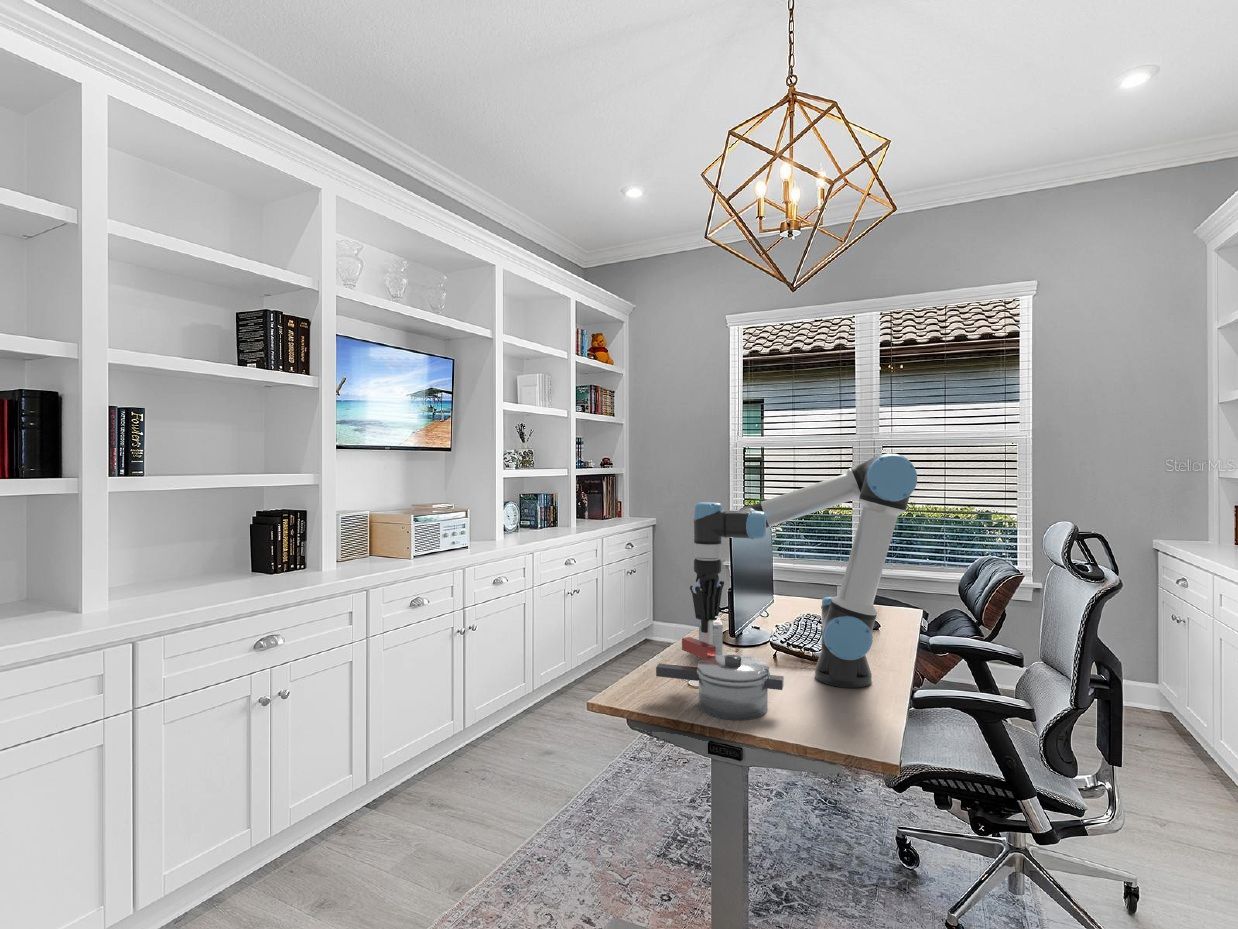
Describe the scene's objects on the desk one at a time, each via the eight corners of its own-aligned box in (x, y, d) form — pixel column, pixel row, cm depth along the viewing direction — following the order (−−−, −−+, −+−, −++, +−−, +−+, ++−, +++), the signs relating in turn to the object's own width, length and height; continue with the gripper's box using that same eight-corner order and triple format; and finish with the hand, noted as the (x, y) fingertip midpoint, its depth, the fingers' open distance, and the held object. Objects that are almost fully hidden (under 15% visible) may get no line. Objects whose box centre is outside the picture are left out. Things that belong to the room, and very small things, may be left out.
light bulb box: (698, 649, 218) (698, 616, 218) (719, 649, 218) (719, 616, 218) (701, 659, 208) (701, 624, 208) (723, 659, 207) (723, 624, 207)
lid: (784, 673, 165) (784, 659, 165) (729, 686, 156) (729, 671, 155) (711, 646, 189) (711, 633, 189) (659, 655, 180) (659, 642, 180)
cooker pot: (785, 700, 172) (786, 665, 172) (779, 727, 155) (779, 688, 155) (666, 686, 182) (666, 653, 182) (648, 710, 165) (648, 673, 165)
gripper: (710, 554, 192) (710, 636, 192) (682, 559, 183) (681, 645, 183) (732, 557, 187) (731, 641, 187) (704, 562, 178) (703, 651, 178)
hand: (707, 643), depth 185 cm, fingers closed
